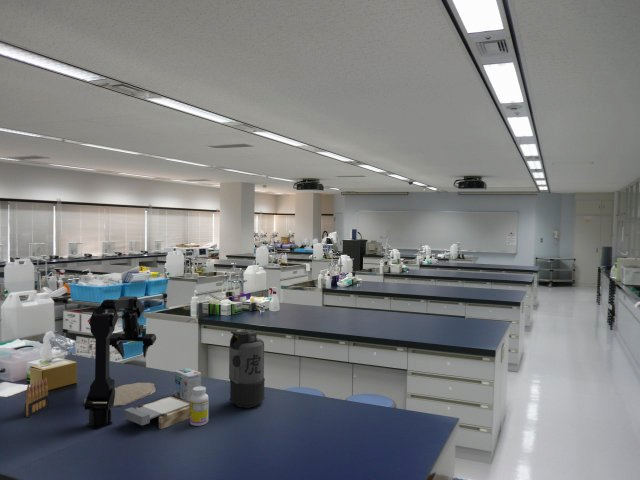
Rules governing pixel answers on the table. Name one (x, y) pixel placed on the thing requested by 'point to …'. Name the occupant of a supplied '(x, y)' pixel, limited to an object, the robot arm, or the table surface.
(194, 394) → the supplement bottle
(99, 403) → the robot arm
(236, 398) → the kanji thermos flask
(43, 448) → the table surface
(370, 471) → the table surface
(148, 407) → the trapdoor
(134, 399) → the stone tablet
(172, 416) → the tan framed slab
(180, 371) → the light bulb box
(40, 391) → the ammunition clip
